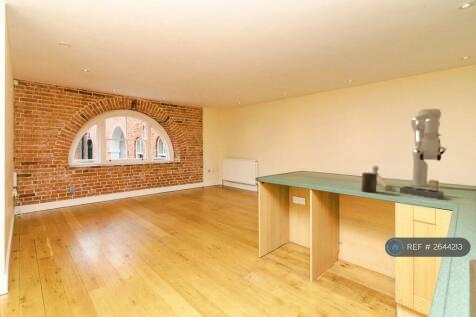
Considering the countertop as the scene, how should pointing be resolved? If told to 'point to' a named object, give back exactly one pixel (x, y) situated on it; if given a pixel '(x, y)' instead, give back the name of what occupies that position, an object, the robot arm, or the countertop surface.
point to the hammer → (381, 179)
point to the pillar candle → (369, 182)
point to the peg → (433, 185)
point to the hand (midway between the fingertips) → (429, 160)
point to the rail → (422, 192)
